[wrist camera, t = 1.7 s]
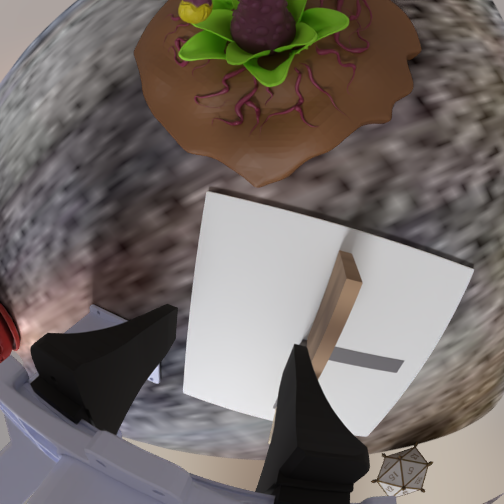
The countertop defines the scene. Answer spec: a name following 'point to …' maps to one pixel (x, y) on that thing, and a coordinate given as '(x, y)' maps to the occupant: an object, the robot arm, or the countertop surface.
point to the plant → (273, 76)
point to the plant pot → (7, 335)
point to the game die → (403, 472)
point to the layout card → (309, 310)
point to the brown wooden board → (333, 310)
